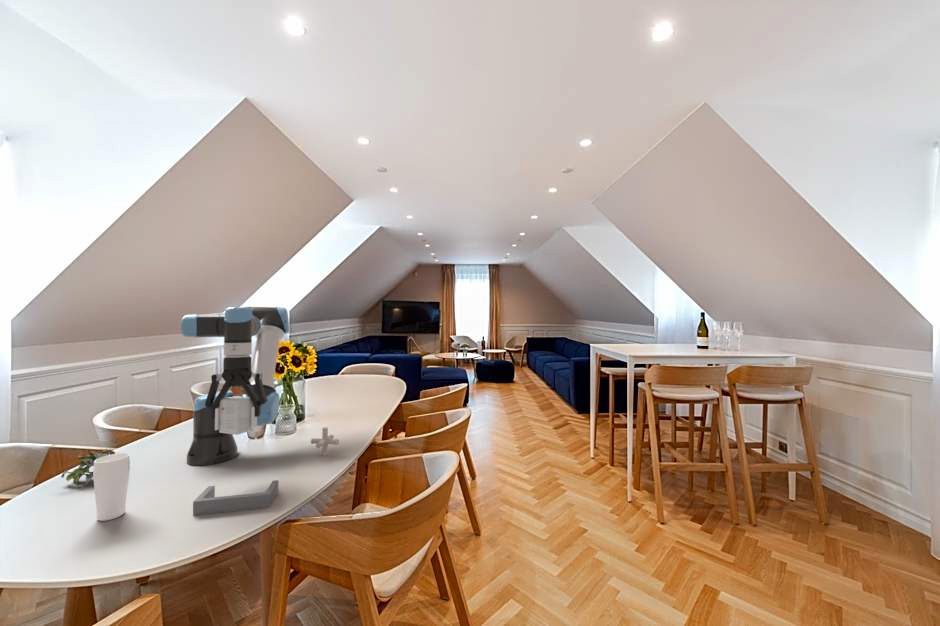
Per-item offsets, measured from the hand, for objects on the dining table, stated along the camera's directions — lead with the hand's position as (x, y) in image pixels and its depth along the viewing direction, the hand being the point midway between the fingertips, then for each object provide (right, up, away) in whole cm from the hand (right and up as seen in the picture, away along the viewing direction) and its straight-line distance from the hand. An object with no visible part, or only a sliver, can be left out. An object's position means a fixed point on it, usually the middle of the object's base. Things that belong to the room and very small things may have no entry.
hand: (236, 427), depth 118 cm
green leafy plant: (-43, -16, -2) cm, 46 cm away
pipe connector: (+19, -17, +21) cm, 34 cm away
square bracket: (+9, -16, -14) cm, 23 cm away
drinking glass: (-19, -16, -22) cm, 33 cm away
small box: (0, -1, 0) cm, 1 cm away
